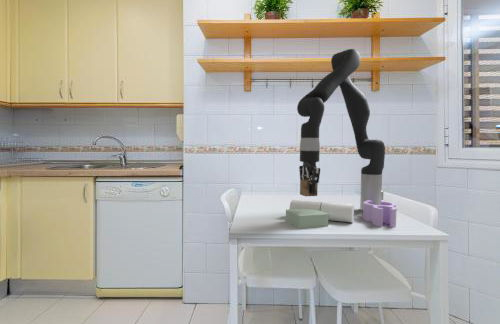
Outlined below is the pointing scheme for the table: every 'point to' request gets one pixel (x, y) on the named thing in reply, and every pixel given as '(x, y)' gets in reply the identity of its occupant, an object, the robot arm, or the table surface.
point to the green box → (306, 218)
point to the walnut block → (306, 188)
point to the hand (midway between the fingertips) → (308, 192)
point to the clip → (380, 213)
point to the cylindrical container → (327, 209)
